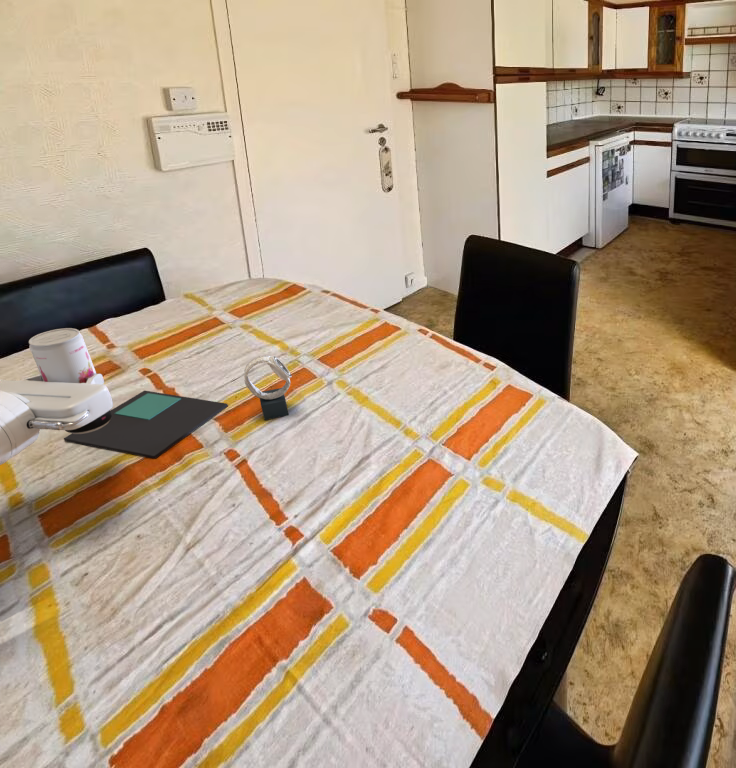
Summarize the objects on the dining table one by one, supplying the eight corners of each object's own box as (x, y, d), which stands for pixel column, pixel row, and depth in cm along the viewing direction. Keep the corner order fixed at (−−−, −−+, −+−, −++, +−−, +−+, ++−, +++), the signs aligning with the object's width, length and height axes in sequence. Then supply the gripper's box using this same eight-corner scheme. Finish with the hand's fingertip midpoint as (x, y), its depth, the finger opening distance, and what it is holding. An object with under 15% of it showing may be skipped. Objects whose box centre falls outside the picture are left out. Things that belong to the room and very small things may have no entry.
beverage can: (119, 423, 98) (86, 335, 91) (72, 440, 94) (34, 349, 86) (104, 409, 102) (72, 324, 95) (58, 425, 97) (21, 337, 90)
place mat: (64, 441, 110) (63, 438, 109) (145, 392, 125) (144, 390, 124) (155, 458, 104) (154, 455, 104) (228, 406, 119) (227, 403, 119)
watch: (299, 412, 116) (288, 359, 111) (254, 422, 114) (240, 369, 108) (296, 399, 121) (285, 348, 116) (252, 408, 118) (238, 356, 113)
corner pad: (114, 414, 116) (114, 413, 116) (148, 393, 123) (148, 393, 123) (148, 420, 114) (148, 419, 114) (181, 399, 121) (180, 398, 121)
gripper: (60, 408, 80) (131, 360, 92) (-80, 400, 82) (7, 355, 94) (77, 448, 83) (144, 397, 95) (-59, 440, 85) (23, 391, 97)
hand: (75, 376), depth 95 cm, fingers closed on beverage can, 6 cm apart
